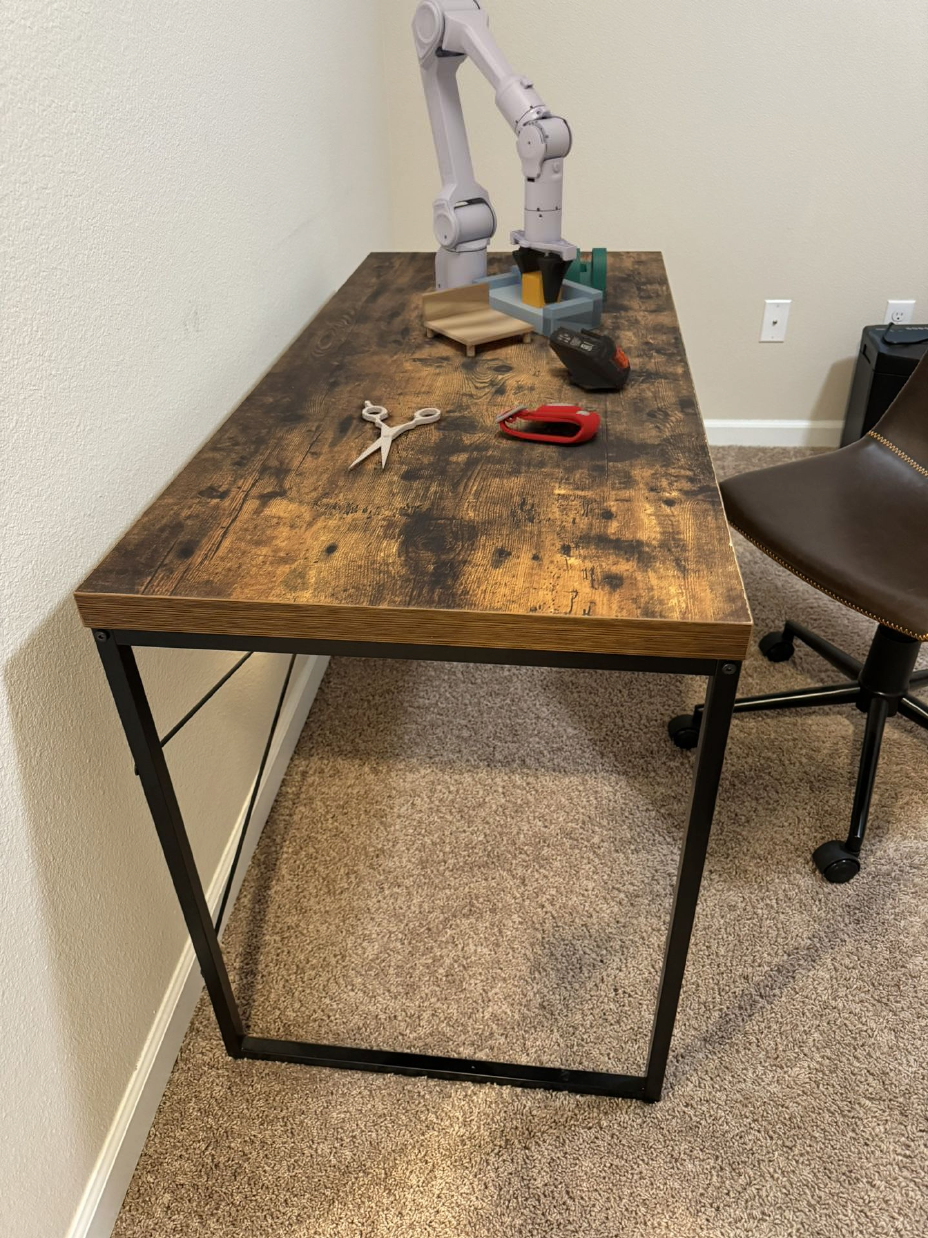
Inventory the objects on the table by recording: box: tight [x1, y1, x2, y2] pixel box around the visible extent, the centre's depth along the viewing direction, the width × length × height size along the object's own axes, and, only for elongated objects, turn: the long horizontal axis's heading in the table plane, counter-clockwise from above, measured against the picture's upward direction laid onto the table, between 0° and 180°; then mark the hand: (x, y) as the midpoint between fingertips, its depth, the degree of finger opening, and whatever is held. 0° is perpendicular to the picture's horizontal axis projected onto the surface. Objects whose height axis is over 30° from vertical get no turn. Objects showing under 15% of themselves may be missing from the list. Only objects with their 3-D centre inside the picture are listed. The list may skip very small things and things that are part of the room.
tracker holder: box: [494, 402, 601, 444], centre depth 111 cm, size 12×4×10 cm
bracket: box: [564, 247, 608, 302], centre depth 163 cm, size 18×7×8 cm, turn 177°
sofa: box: [472, 264, 603, 339], centre depth 150 cm, size 22×10×6 cm, turn 33°
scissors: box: [348, 400, 441, 469], centre depth 112 cm, size 11×1×20 cm
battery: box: [548, 326, 632, 391], centre depth 124 cm, size 12×8×7 cm
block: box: [522, 270, 561, 309], centre depth 146 cm, size 4×4×4 cm
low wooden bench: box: [421, 281, 534, 358], centre depth 141 cm, size 13×12×6 cm
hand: (541, 298), depth 147 cm, fingers closed on block, 4 cm apart
